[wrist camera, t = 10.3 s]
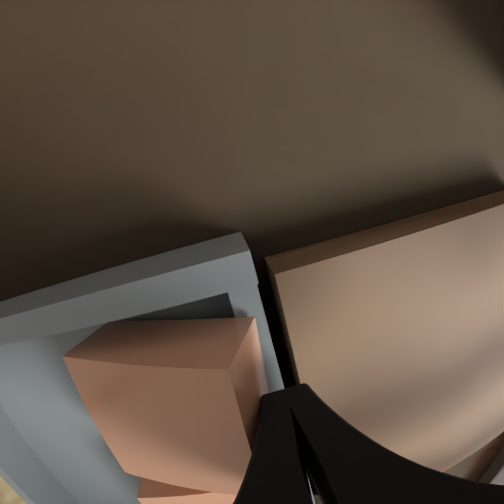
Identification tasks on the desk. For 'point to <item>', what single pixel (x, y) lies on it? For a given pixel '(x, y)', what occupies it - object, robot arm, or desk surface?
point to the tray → (80, 327)
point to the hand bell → (9, 494)
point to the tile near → (175, 397)
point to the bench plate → (404, 328)
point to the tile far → (177, 494)
